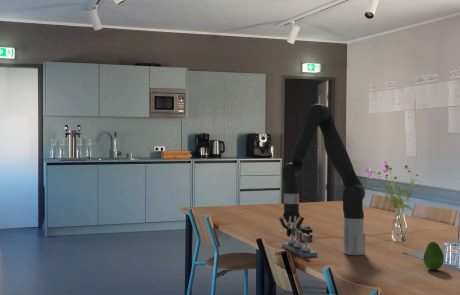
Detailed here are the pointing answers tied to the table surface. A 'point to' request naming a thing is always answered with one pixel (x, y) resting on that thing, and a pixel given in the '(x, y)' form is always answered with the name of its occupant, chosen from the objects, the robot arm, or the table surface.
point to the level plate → (299, 250)
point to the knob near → (306, 239)
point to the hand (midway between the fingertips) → (291, 236)
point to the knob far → (292, 232)
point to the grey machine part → (306, 231)
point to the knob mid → (299, 236)
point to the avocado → (433, 256)
